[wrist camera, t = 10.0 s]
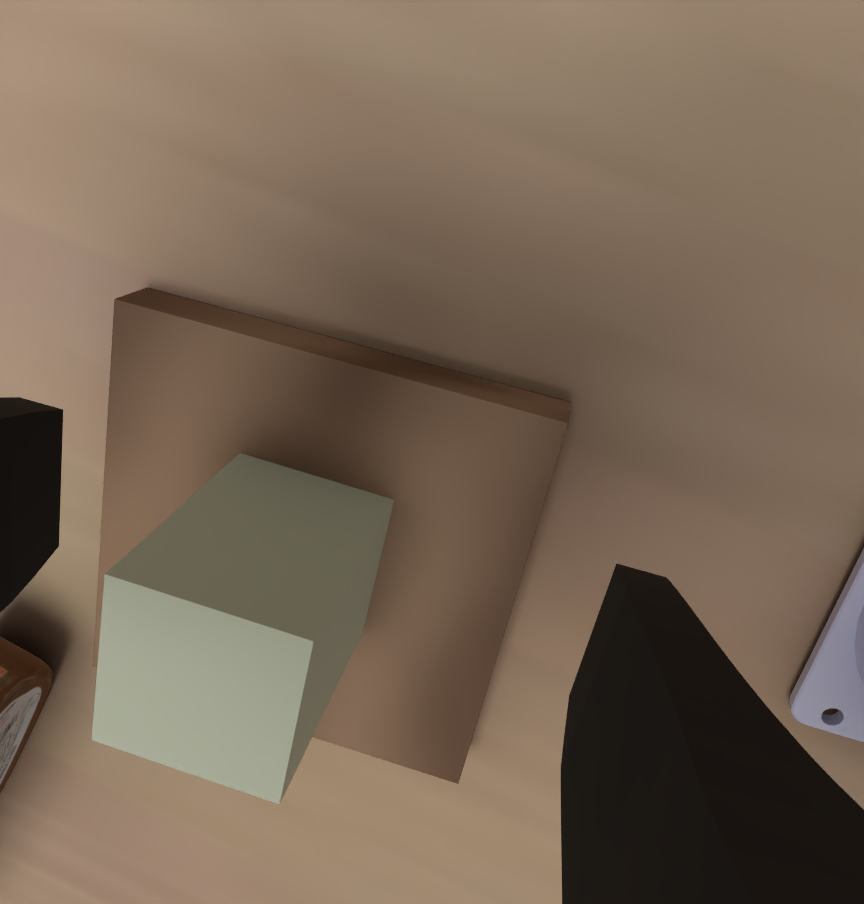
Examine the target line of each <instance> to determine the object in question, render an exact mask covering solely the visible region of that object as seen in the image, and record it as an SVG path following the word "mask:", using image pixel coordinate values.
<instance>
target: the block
mask: <svg viewBox="0 0 864 904" xmlns="http://www.w3.org/2000/svg"><path fill="white" fill-rule="evenodd" d="M393 503H394V499H390V498H387V497H384V496H380V495H377V494H374V493H370V492H367V491H364V490H361V489H357V488H354V487H351V486H347V485H344V484H341V483H337V482H334V481H331V480H328V479H324V478H321V477H318V476H314V475H311V474H308V473H304V472H301V471H298V470H295V469H291V468H288V467H285V466H281V465H278V464H275V463H271V462H268V461H265V460H262V459H258V458H255V457H252V456H248V455H245V454H242V453H240V454H238V455H237V456H236V457H235V458H234V459H233V460H232V461H231V462H229V463H228V464H227V465H226V466H225V467H224V468H223V469H222V470H220V471H219V472H218V473H217V474H216V475H215V476H214V477H213V478H212V479H210V480H209V481H208V482H207V483H206V484H205V485H204V486H203V487H201V488H200V489H199V490H198V491H197V492H196V493H195V494H194V495H193V496H191V497H190V498H189V499H188V500H187V501H186V502H185V503H184V504H182V505H181V506H180V507H179V508H178V509H177V510H176V511H175V512H174V513H172V514H171V515H170V516H169V517H168V518H167V519H166V520H165V521H163V522H162V523H161V524H160V525H159V526H158V527H157V528H156V529H155V530H153V531H152V532H151V533H150V534H149V535H148V536H147V537H146V538H144V539H143V540H142V541H141V542H140V543H139V544H138V545H137V546H136V547H134V548H133V549H132V550H131V551H130V552H129V553H128V554H127V555H125V556H124V557H123V558H122V559H121V560H120V561H119V562H118V563H116V564H115V565H114V566H113V567H112V568H111V569H110V570H109V571H108V572H106V573H105V576H104V589H103V602H102V614H101V627H100V640H99V653H98V665H97V678H96V691H95V704H94V716H93V729H92V740H93V741H96V742H99V743H102V744H105V745H108V746H110V747H113V748H116V749H119V750H122V751H125V752H128V753H131V754H134V755H137V756H140V757H143V758H145V759H148V760H151V761H154V762H157V763H160V764H163V765H166V766H169V767H172V768H175V769H178V770H180V771H183V772H186V773H189V774H192V775H195V776H198V777H201V778H204V779H207V780H210V781H212V782H215V783H218V784H221V785H224V786H227V787H230V788H233V789H236V790H239V791H242V792H245V793H247V794H250V795H253V796H256V797H259V798H262V799H265V800H268V801H271V802H274V803H277V804H280V802H281V800H282V798H283V796H284V794H285V792H286V790H287V788H288V786H289V784H290V782H291V780H292V778H293V775H294V773H295V771H296V769H297V767H298V765H299V763H300V761H301V759H302V757H303V755H304V753H305V751H306V749H307V746H308V744H309V742H310V740H311V738H312V736H313V734H314V732H315V730H316V728H317V726H318V724H319V722H320V720H321V718H322V715H323V713H324V711H325V709H326V707H327V705H328V703H329V701H330V699H331V697H332V695H333V693H334V691H335V689H336V686H337V684H338V682H339V680H340V678H341V676H342V674H343V672H344V670H345V668H346V666H347V664H348V662H349V660H350V658H351V655H352V653H353V651H354V649H355V647H356V645H357V643H358V641H359V639H360V637H361V635H362V633H363V629H364V625H365V621H366V617H367V612H368V608H369V604H370V600H371V596H372V591H373V587H374V583H375V579H376V575H377V570H378V566H379V562H380V558H381V554H382V549H383V545H384V541H385V537H386V533H387V528H388V524H389V520H390V516H391V512H392V507H393Z"/></svg>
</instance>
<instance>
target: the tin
mask: <svg viewBox="0 0 864 904" xmlns="http://www.w3.org/2000/svg"><path fill="white" fill-rule="evenodd" d="M52 675H53V672H52V670H51V668H50V667H49V666H48V665H47V664H46V663H45V662H43V661H42V660H41V659H39V658H37V657H36V656H34V655H33V654H31V653H29V652H27V651H25V650H24V649H22V648H20V647H18V646H16V645H15V644H13V643H11V642H9V641H7V640H6V639H4V638H2V637H0V792H1V790H2V788H3V786H4V784H5V782H6V780H7V778H8V776H9V774H10V772H11V770H12V768H13V766H14V764H15V762H16V760H17V758H18V756H19V754H20V752H21V750H22V748H23V746H24V744H25V742H26V740H27V738H28V736H29V734H30V732H31V730H32V728H33V726H34V724H35V721H36V719H37V717H38V715H39V713H40V711H41V709H42V707H43V705H44V703H45V700H46V698H47V695H48V693H49V690H50V687H51V684H52Z"/></svg>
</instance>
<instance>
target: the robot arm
mask: <svg viewBox="0 0 864 904" xmlns="http://www.w3.org/2000/svg"><path fill="white" fill-rule="evenodd" d="M62 426H63V410H62V409H59V408H55V407H52V406H48V405H44V404H41V403H37V402H34V401H30V400H26V399H23V398H19V397H17V398H0V612H1V611H2V610H4V609H5V608H6V607H7V606H8V605H9V604H10V603H11V602H12V601H13V600H14V599H15V597H16V596H17V595H18V594H19V593H20V592H21V591H22V590H23V588H24V587H25V586H26V585H27V584H28V583H29V582H30V581H31V579H32V578H33V577H34V576H35V575H36V573H37V572H38V571H39V570H40V569H41V567H42V566H43V565H44V564H45V562H46V561H47V560H48V559H49V557H50V556H51V555H52V554H53V553H54V551H55V550H56V549H57V548H58V546H59V522H60V490H61V458H62ZM789 705H790V709H791V712H792V715H793V717H794V718H795V719H796V720H797V721H798V722H800V723H802V724H804V725H807V726H810V727H814V728H817V729H820V730H824V731H827V732H830V733H834V734H837V735H840V736H844V737H847V738H850V739H854V740H857V741H860V742H863V743H864V548H863V550H862V552H861V554H860V556H859V558H858V560H857V562H856V564H855V566H854V568H853V570H852V572H851V575H850V577H849V579H848V581H847V583H846V585H845V587H844V589H843V591H842V593H841V595H840V597H839V599H838V601H837V603H836V605H835V607H834V609H833V611H832V613H831V615H830V617H829V619H828V621H827V623H826V625H825V627H824V629H823V631H822V633H821V635H820V637H819V639H818V641H817V643H816V645H815V647H814V649H813V651H812V653H811V655H810V657H809V659H808V661H807V663H806V665H805V667H804V669H803V671H802V673H801V675H800V677H799V679H798V681H797V683H796V685H795V687H794V689H793V691H792V693H791V695H790V699H789ZM830 708H834V709H838V710H839V711H838V712H837V713H836V714H833V715H824V714H822V713H823V712H824V711H825V710H827V709H830ZM561 845H562V904H864V810H863V809H862V808H861V807H860V806H859V805H858V804H857V803H856V802H855V801H854V800H853V799H852V798H851V797H850V796H849V795H848V794H847V793H846V792H845V791H844V790H843V789H842V788H841V787H840V786H839V785H838V784H837V783H836V782H835V781H834V780H833V779H832V778H831V777H830V776H829V775H828V774H827V773H826V772H825V771H824V770H823V769H822V768H821V767H820V766H819V765H818V764H817V763H816V761H815V760H814V759H813V758H812V757H811V756H810V755H809V754H808V753H807V752H806V751H805V749H804V748H803V747H802V746H801V745H800V744H799V743H798V742H797V740H796V739H795V738H794V737H793V736H792V735H791V734H790V732H789V731H788V730H787V729H786V728H785V727H784V726H783V725H782V723H781V722H780V721H779V720H778V719H777V718H776V717H775V715H774V714H773V713H772V712H771V711H770V710H769V708H768V707H767V706H766V705H765V704H764V702H763V701H762V700H761V699H760V698H759V696H758V695H757V694H756V693H755V691H754V690H753V689H752V688H751V687H750V685H749V684H748V683H747V682H746V680H745V679H744V678H743V677H742V675H741V674H740V673H739V671H738V670H737V669H736V668H735V666H734V665H733V664H732V662H731V661H730V660H729V659H728V657H727V656H726V655H725V653H724V652H723V651H722V649H721V648H720V647H719V645H718V644H717V643H716V641H715V640H714V639H713V637H712V636H711V635H710V633H709V632H708V631H707V629H706V628H705V627H704V625H703V624H702V623H701V621H700V620H699V619H698V617H697V616H696V615H695V613H694V612H693V610H692V609H691V608H690V606H689V605H688V604H687V602H686V601H685V600H684V598H683V597H682V596H681V594H680V593H679V592H678V591H677V589H676V588H675V587H674V586H673V584H672V583H671V582H670V581H669V580H668V579H667V578H666V577H663V576H659V575H655V574H652V573H648V572H645V571H641V570H637V569H634V568H630V567H627V566H623V565H620V564H616V567H615V569H614V572H613V575H612V578H611V581H610V583H609V586H608V589H607V592H606V595H605V597H604V600H603V603H602V606H601V609H600V611H599V614H598V617H597V620H596V623H595V625H594V628H593V631H592V634H591V637H590V639H589V642H588V645H587V648H586V651H585V653H584V656H583V659H582V662H581V664H580V667H579V670H578V673H577V676H576V678H575V681H574V684H573V687H572V690H571V692H570V695H569V703H568V711H567V719H566V727H565V735H564V744H563V753H562V762H561Z"/></svg>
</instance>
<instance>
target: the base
mask: <svg viewBox="0 0 864 904" xmlns="http://www.w3.org/2000/svg"><path fill="white" fill-rule="evenodd" d="M570 407H571V402H567V401H563V400H560V399H556V398H552V397H549V396H545V395H541V394H538V393H534V392H530V391H527V390H523V389H519V388H515V387H512V386H508V385H504V384H501V383H497V382H493V381H490V380H486V379H482V378H479V377H475V376H471V375H467V374H464V373H460V372H456V371H453V370H449V369H445V368H442V367H438V366H434V365H431V364H427V363H423V362H419V361H416V360H412V359H408V358H405V357H401V356H397V355H394V354H390V353H386V352H383V351H379V350H375V349H371V348H368V347H364V346H360V345H357V344H353V343H349V342H346V341H342V340H338V339H335V338H331V337H327V336H324V335H320V334H316V333H312V332H309V331H305V330H301V329H298V328H294V327H290V326H287V325H283V324H279V323H276V322H272V321H268V320H264V319H261V318H257V317H253V316H250V315H246V314H242V313H239V312H235V311H231V310H228V309H224V308H220V307H216V306H213V305H209V304H205V303H202V302H198V301H194V300H191V299H187V298H183V297H180V296H176V295H172V294H169V293H165V292H161V291H157V290H154V289H150V288H145V289H142V290H139V291H136V292H133V293H131V294H128V295H125V296H122V297H119V298H116V299H115V301H114V318H113V335H112V352H111V369H110V386H109V403H108V420H107V437H106V454H105V471H104V488H103V505H102V522H101V539H100V556H99V573H98V590H97V607H96V624H95V641H94V658H93V666H94V667H97V665H98V653H99V640H100V627H101V614H102V602H103V589H104V576H105V573H106V572H108V571H109V570H110V569H111V568H112V567H113V566H114V565H115V564H116V563H118V562H119V561H120V560H121V559H122V558H123V557H124V556H125V555H127V554H128V553H129V552H130V551H131V550H132V549H133V548H134V547H136V546H137V545H138V544H139V543H140V542H141V541H142V540H143V539H144V538H146V537H147V536H148V535H149V534H150V533H151V532H152V531H153V530H155V529H156V528H157V527H158V526H159V525H160V524H161V523H162V522H163V521H165V520H166V519H167V518H168V517H169V516H170V515H171V514H172V513H174V512H175V511H176V510H177V509H178V508H179V507H180V506H181V505H182V504H184V503H185V502H186V501H187V500H188V499H189V498H190V497H191V496H193V495H194V494H195V493H196V492H197V491H198V490H199V489H200V488H201V487H203V486H204V485H205V484H206V483H207V482H208V481H209V480H210V479H212V478H213V477H214V476H215V475H216V474H217V473H218V472H219V471H220V470H222V469H223V468H224V467H225V466H226V465H227V464H228V463H229V462H231V461H232V460H233V459H234V458H235V457H236V456H237V455H238V454H240V453H242V454H245V455H248V456H252V457H255V458H258V459H262V460H265V461H268V462H271V463H275V464H278V465H281V466H285V467H288V468H291V469H295V470H298V471H301V472H304V473H308V474H311V475H314V476H318V477H321V478H324V479H328V480H331V481H334V482H337V483H341V484H344V485H347V486H351V487H354V488H357V489H361V490H364V491H367V492H370V493H374V494H377V495H380V496H384V497H387V498H390V499H394V503H393V507H392V512H391V516H390V520H389V524H388V528H387V533H386V537H385V541H384V545H383V549H382V554H381V558H380V562H379V566H378V570H377V575H376V579H375V583H374V587H373V591H372V596H371V600H370V604H369V608H368V612H367V617H366V621H365V625H364V629H363V633H362V635H361V637H360V639H359V641H358V643H357V645H356V647H355V649H354V651H353V653H352V655H351V658H350V660H349V662H348V664H347V666H346V668H345V670H344V672H343V674H342V676H341V678H340V680H339V682H338V684H337V686H336V689H335V691H334V693H333V695H332V697H331V699H330V701H329V703H328V705H327V707H326V709H325V711H324V713H323V715H322V718H321V720H320V722H319V724H318V726H317V728H316V730H315V732H314V734H313V736H312V737H314V738H317V739H321V740H324V741H327V742H330V743H333V744H336V745H339V746H342V747H345V748H349V749H352V750H355V751H358V752H361V753H364V754H367V755H370V756H373V757H377V758H380V759H383V760H386V761H389V762H392V763H395V764H398V765H401V766H405V767H408V768H411V769H414V770H417V771H420V772H423V773H426V774H429V775H433V776H436V777H439V778H442V779H445V780H448V781H451V782H454V783H457V784H458V783H459V780H460V776H461V773H462V770H463V767H464V763H465V760H466V757H467V754H468V750H469V747H470V744H471V740H472V737H473V734H474V731H475V727H476V724H477V721H478V717H479V714H480V711H481V708H482V704H483V701H484V698H485V695H486V691H487V688H488V685H489V681H490V678H491V675H492V672H493V668H494V665H495V662H496V659H497V655H498V652H499V649H500V645H501V642H502V639H503V636H504V632H505V629H506V626H507V622H508V619H509V616H510V613H511V609H512V606H513V603H514V600H515V596H516V593H517V590H518V586H519V583H520V580H521V577H522V573H523V570H524V567H525V564H526V560H527V557H528V554H529V550H530V547H531V544H532V541H533V537H534V534H535V531H536V527H537V524H538V521H539V518H540V514H541V511H542V508H543V505H544V501H545V498H546V495H547V491H548V488H549V485H550V482H551V478H552V475H553V472H554V469H555V465H556V462H557V459H558V455H559V452H560V449H561V446H562V442H563V439H564V436H565V433H566V429H567V426H568V422H569V414H570Z"/></svg>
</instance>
